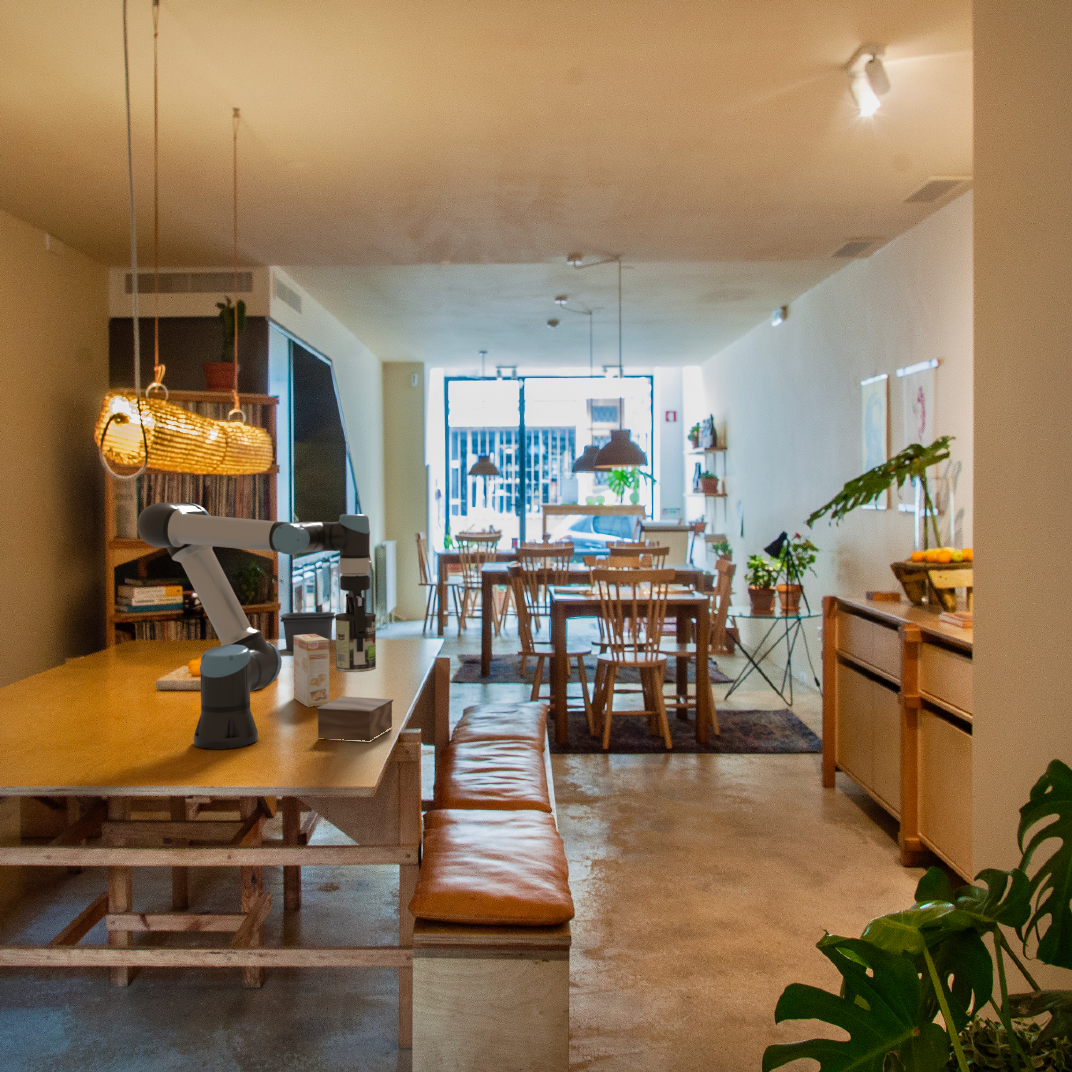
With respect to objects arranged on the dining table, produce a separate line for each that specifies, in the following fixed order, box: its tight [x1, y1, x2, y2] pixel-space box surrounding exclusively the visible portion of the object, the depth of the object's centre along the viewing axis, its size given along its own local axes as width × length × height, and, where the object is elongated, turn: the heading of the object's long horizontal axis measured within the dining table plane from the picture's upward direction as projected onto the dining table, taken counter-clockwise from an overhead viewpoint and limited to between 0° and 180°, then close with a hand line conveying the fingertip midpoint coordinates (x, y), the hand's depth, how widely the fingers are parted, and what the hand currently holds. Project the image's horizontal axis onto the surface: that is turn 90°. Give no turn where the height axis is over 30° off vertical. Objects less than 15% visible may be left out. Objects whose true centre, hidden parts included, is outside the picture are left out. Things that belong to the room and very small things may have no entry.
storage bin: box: [279, 611, 336, 651], centre depth 379 cm, size 21×16×14 cm
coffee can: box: [334, 611, 377, 673], centre depth 238 cm, size 10×10×14 cm
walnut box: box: [315, 696, 394, 741], centre depth 238 cm, size 15×15×8 cm
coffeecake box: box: [293, 634, 331, 708], centre depth 277 cm, size 15×7×20 cm, turn 30°
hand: (355, 661), depth 238 cm, fingers closed on coffee can, 10 cm apart
